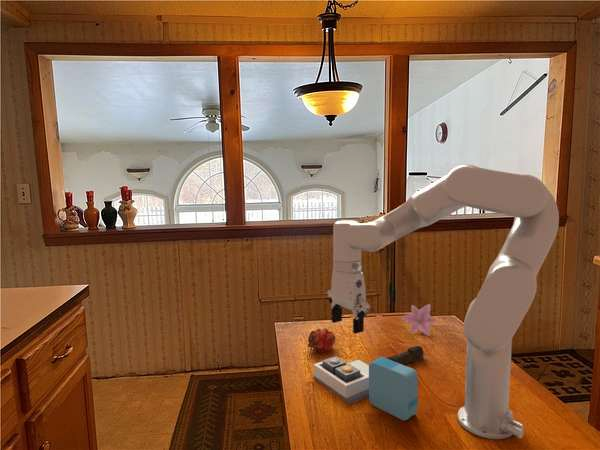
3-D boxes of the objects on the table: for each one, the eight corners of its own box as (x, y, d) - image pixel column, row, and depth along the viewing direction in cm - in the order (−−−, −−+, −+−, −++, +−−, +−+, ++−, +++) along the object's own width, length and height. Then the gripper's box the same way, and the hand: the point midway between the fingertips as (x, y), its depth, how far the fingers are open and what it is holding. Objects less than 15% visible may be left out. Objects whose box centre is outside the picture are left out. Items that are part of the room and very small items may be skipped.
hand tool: (382, 376, 122) (382, 361, 122) (374, 370, 126) (374, 356, 125) (429, 361, 131) (429, 348, 130) (420, 356, 134) (420, 343, 134)
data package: (417, 415, 102) (418, 370, 100) (407, 423, 99) (408, 376, 97) (378, 396, 111) (378, 355, 109) (368, 403, 108) (368, 360, 106)
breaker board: (397, 384, 117) (397, 369, 116) (349, 404, 107) (349, 388, 107) (357, 362, 131) (357, 348, 130) (313, 377, 122) (312, 363, 121)
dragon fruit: (305, 359, 137) (331, 354, 144) (320, 351, 131) (346, 346, 139) (298, 335, 141) (324, 331, 148) (312, 326, 135) (338, 322, 143)
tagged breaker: (360, 380, 114) (360, 369, 113) (346, 385, 111) (346, 374, 110) (348, 373, 118) (348, 362, 117) (335, 378, 115) (335, 367, 115)
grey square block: (346, 372, 119) (346, 361, 118) (333, 376, 116) (332, 366, 115) (336, 365, 123) (335, 355, 122) (322, 370, 120) (322, 359, 120)
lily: (397, 330, 159) (398, 314, 153) (414, 312, 165) (415, 296, 159) (424, 347, 151) (427, 331, 146) (441, 328, 157) (444, 311, 152)
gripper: (379, 270, 105) (379, 334, 107) (338, 258, 119) (338, 315, 122) (357, 274, 101) (357, 340, 103) (317, 261, 115) (318, 320, 118)
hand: (347, 326), depth 112 cm, fingers open, 8 cm apart
